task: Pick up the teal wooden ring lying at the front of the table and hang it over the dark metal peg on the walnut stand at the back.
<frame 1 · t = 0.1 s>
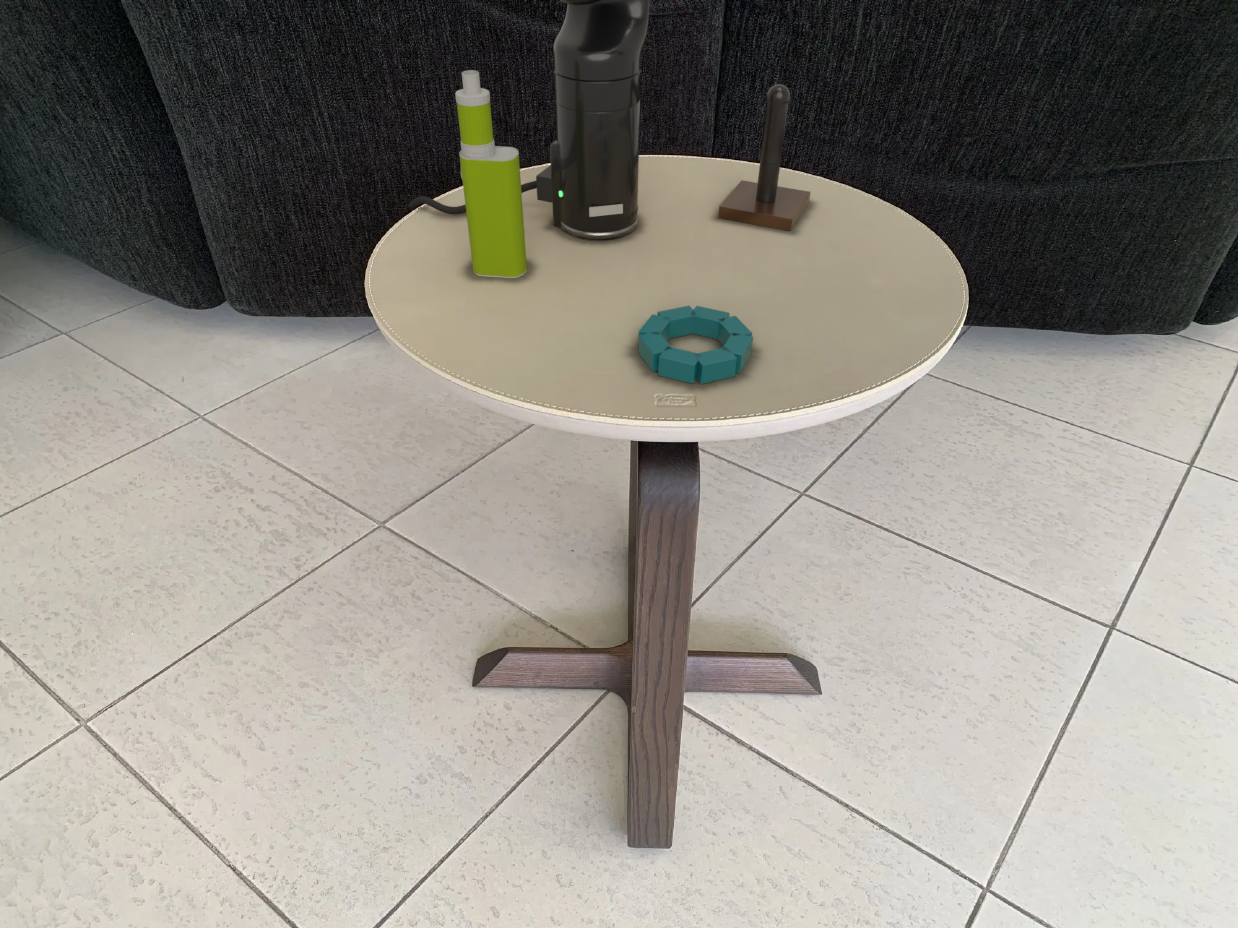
vape: (499, 270, 91), on the table
peg stand: (764, 210, 103), on the table
ring: (694, 352, 78), on the table
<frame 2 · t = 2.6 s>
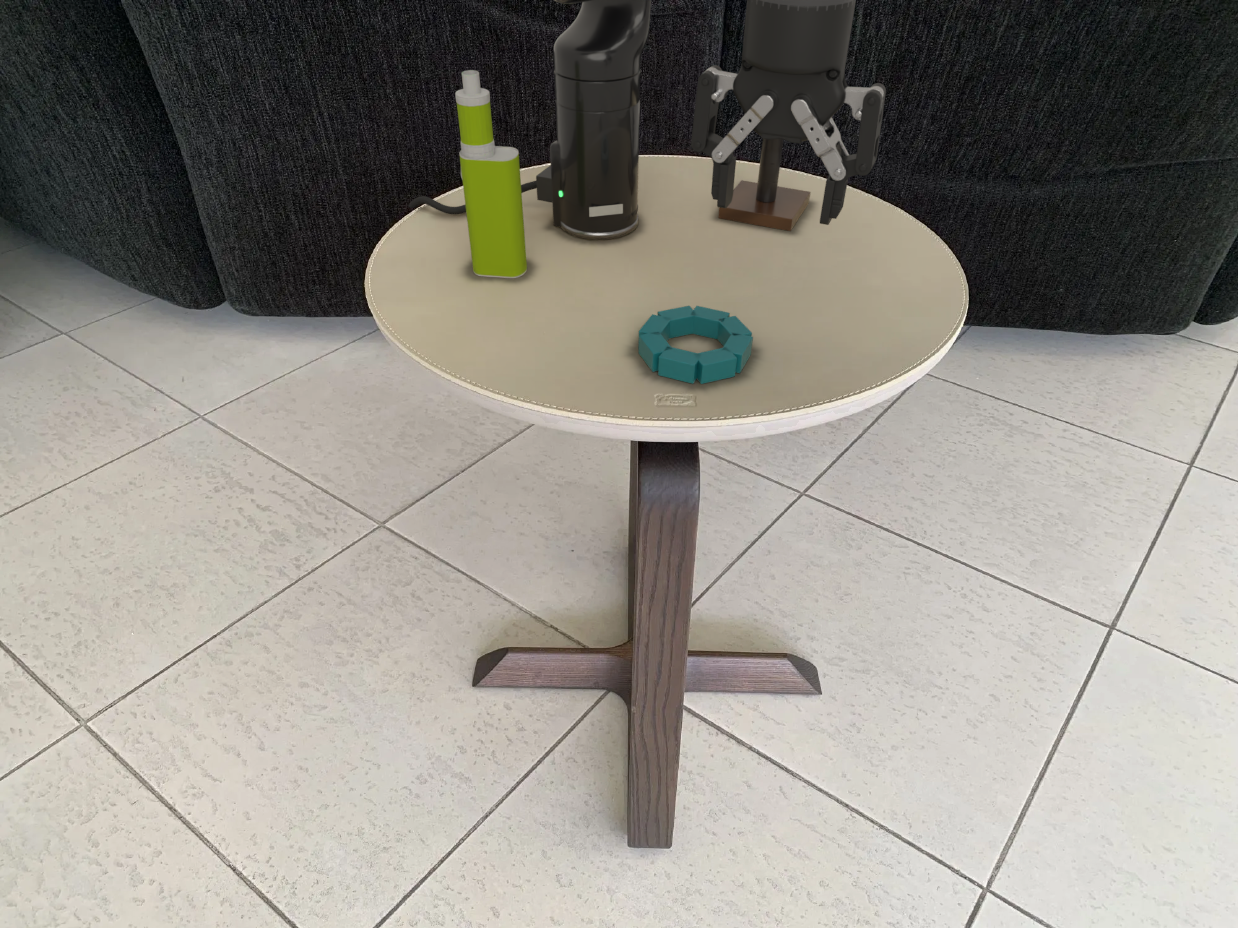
hand: (774, 212, 68), 14 cm above the table, tool pointing down, fingers open, 8 cm apart
nothing on the table moved.
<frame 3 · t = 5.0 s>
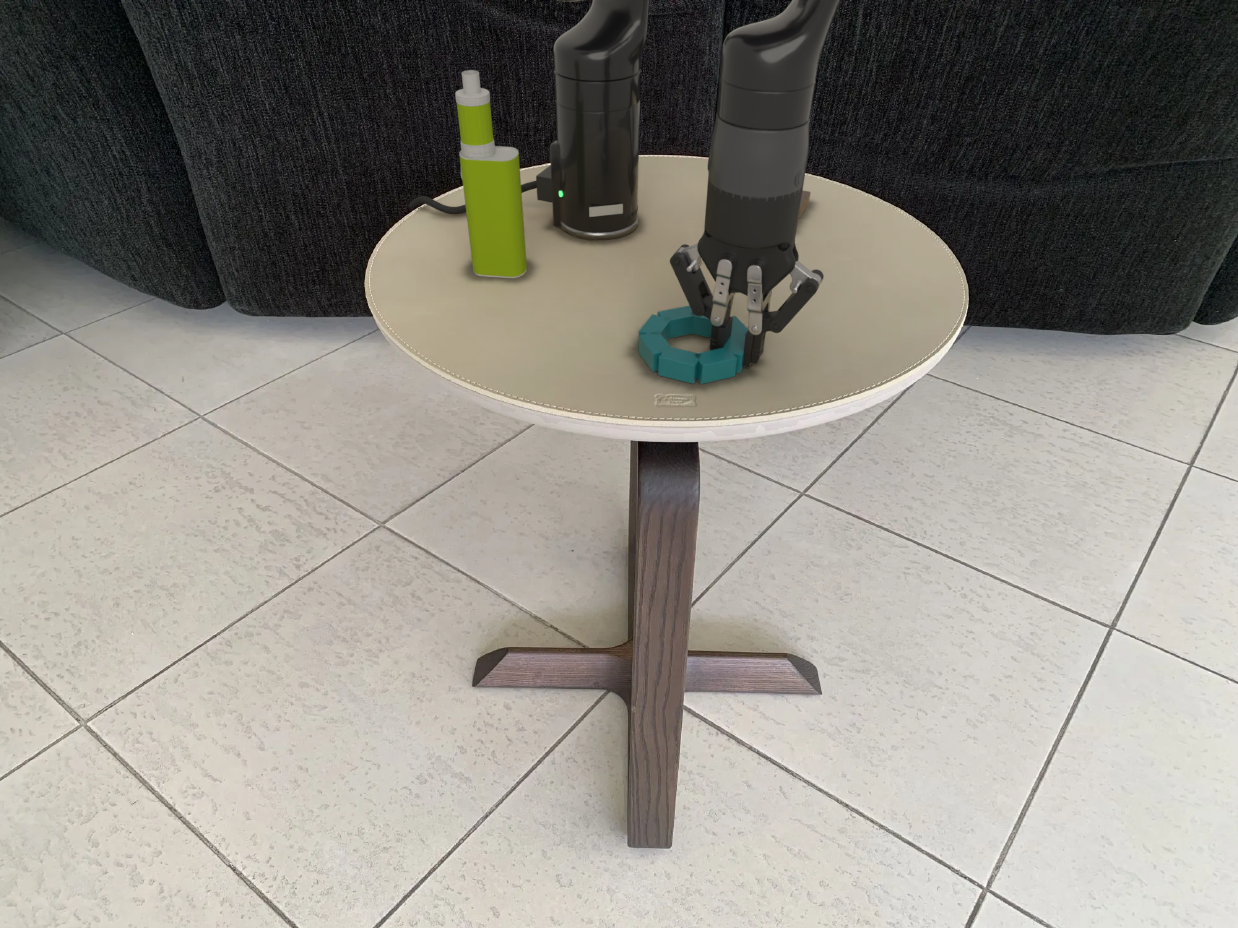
hand: (735, 359, 77), 0 cm above the table, tool pointing down, fingers closed on ring, 2 cm apart
ring: (694, 352, 78), on the table, touching gripper
everything else where it was.
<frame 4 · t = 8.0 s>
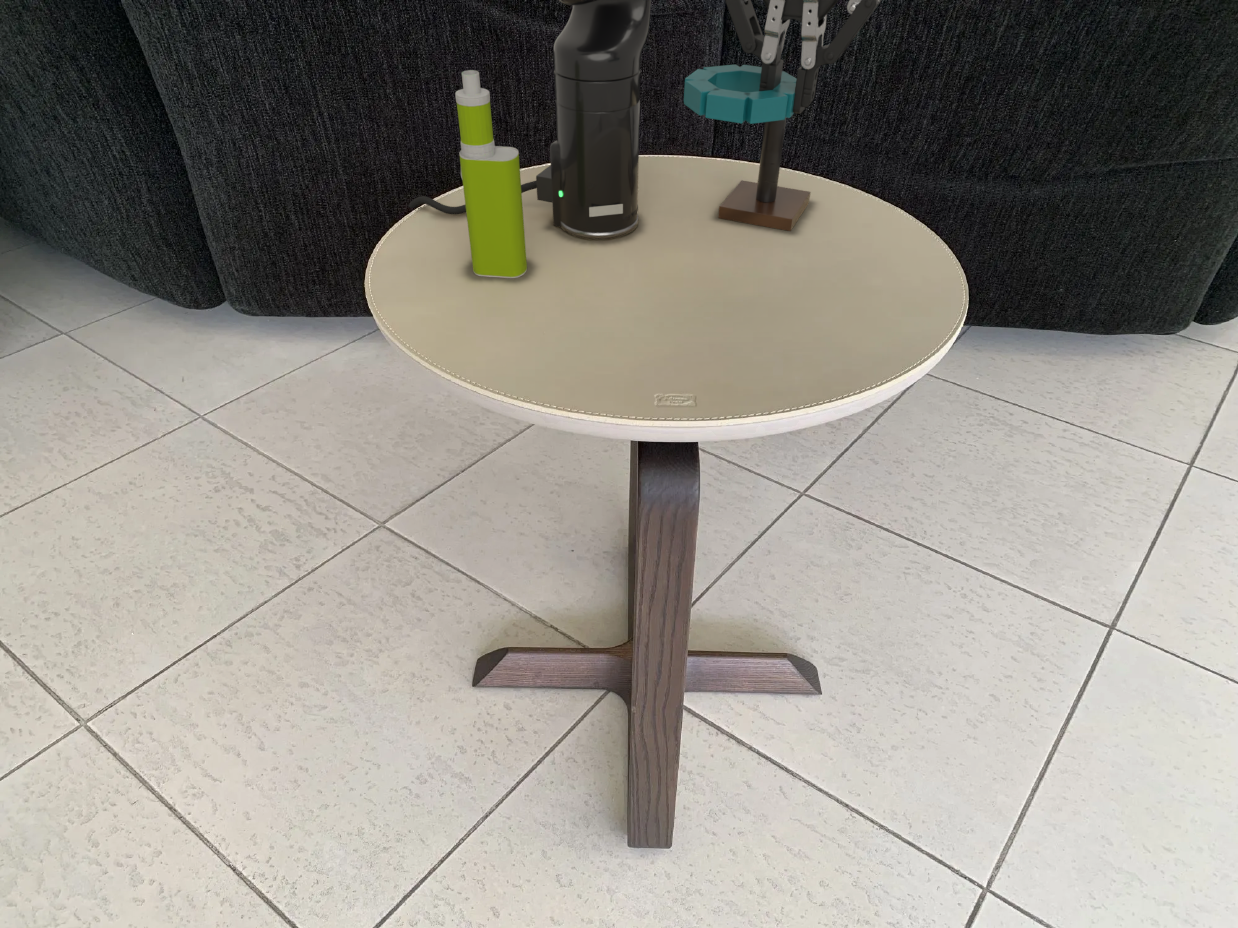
hand: (784, 108, 74), 19 cm above the table, tool pointing down, fingers closed on ring
ring: (741, 104, 76), point 19 cm above the table, touching gripper
everything else where it was.
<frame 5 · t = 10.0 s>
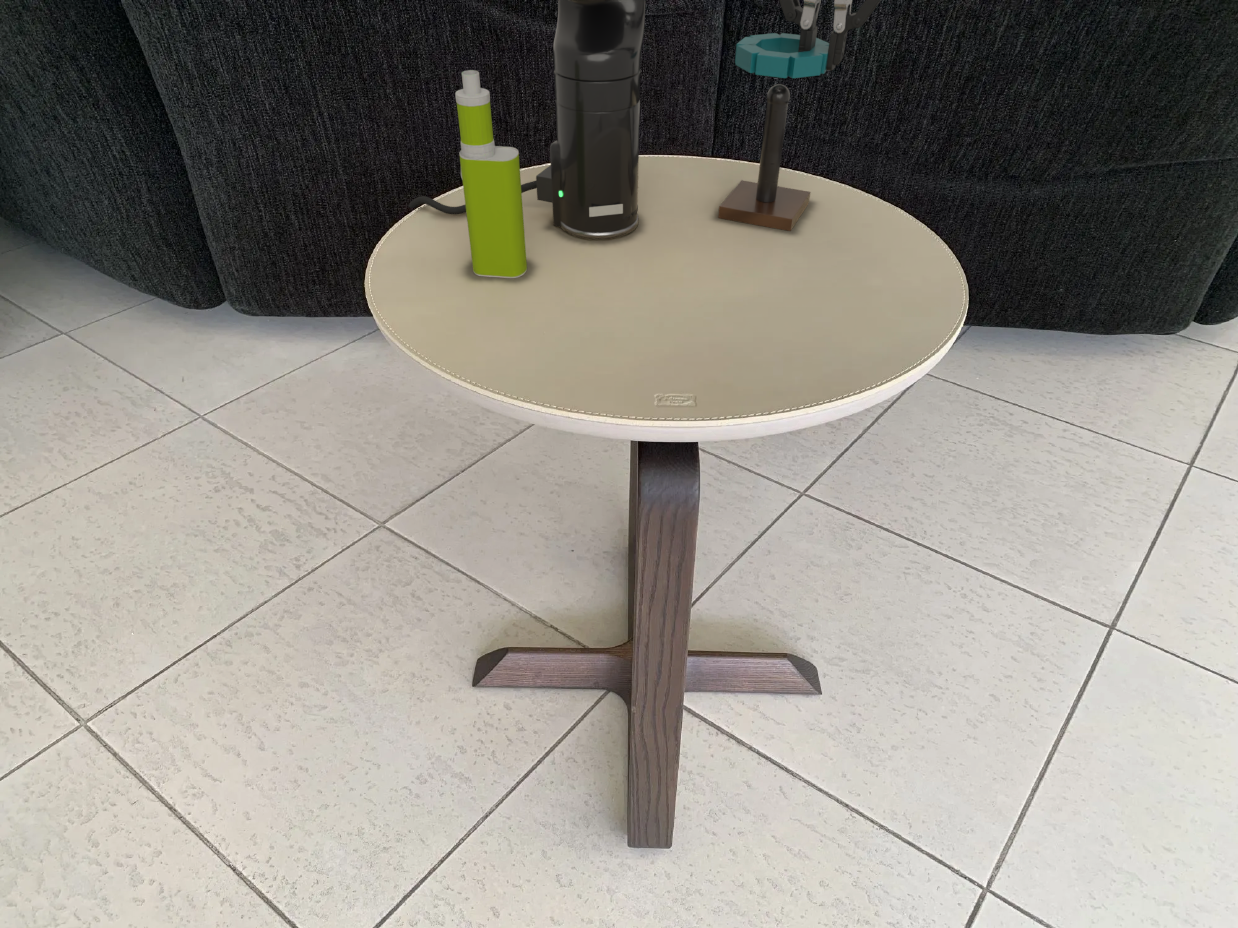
hand: (818, 66, 91), 17 cm above the table, tool pointing down, fingers closed on ring
ring: (782, 64, 92), point 17 cm above the table, touching gripper
everything else where it was.
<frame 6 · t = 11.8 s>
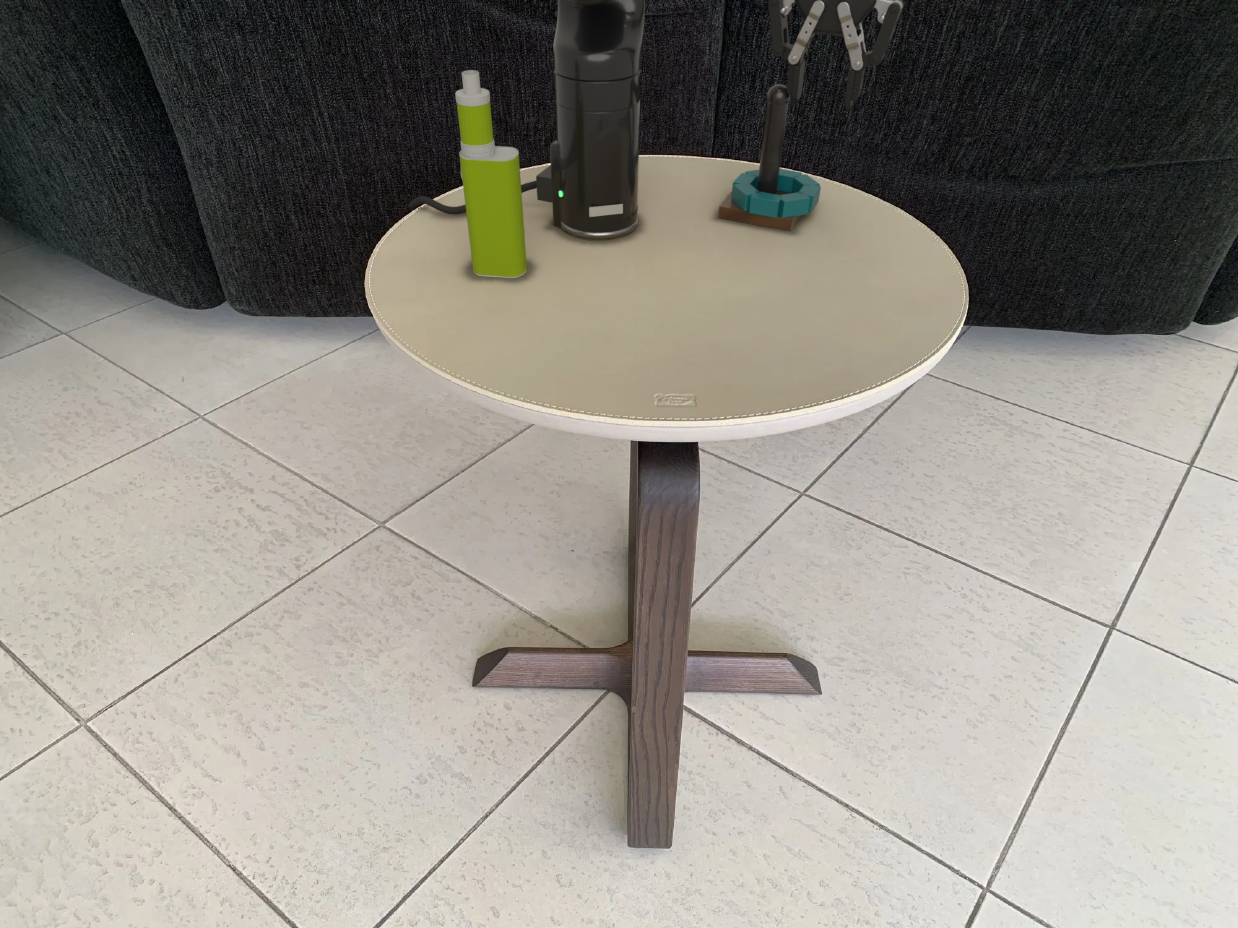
hand: (821, 100, 93), 14 cm above the table, tool pointing down, fingers open, 5 cm apart
ring: (774, 200, 102), point 1 cm above the table, touching peg stand
everything else where it was.
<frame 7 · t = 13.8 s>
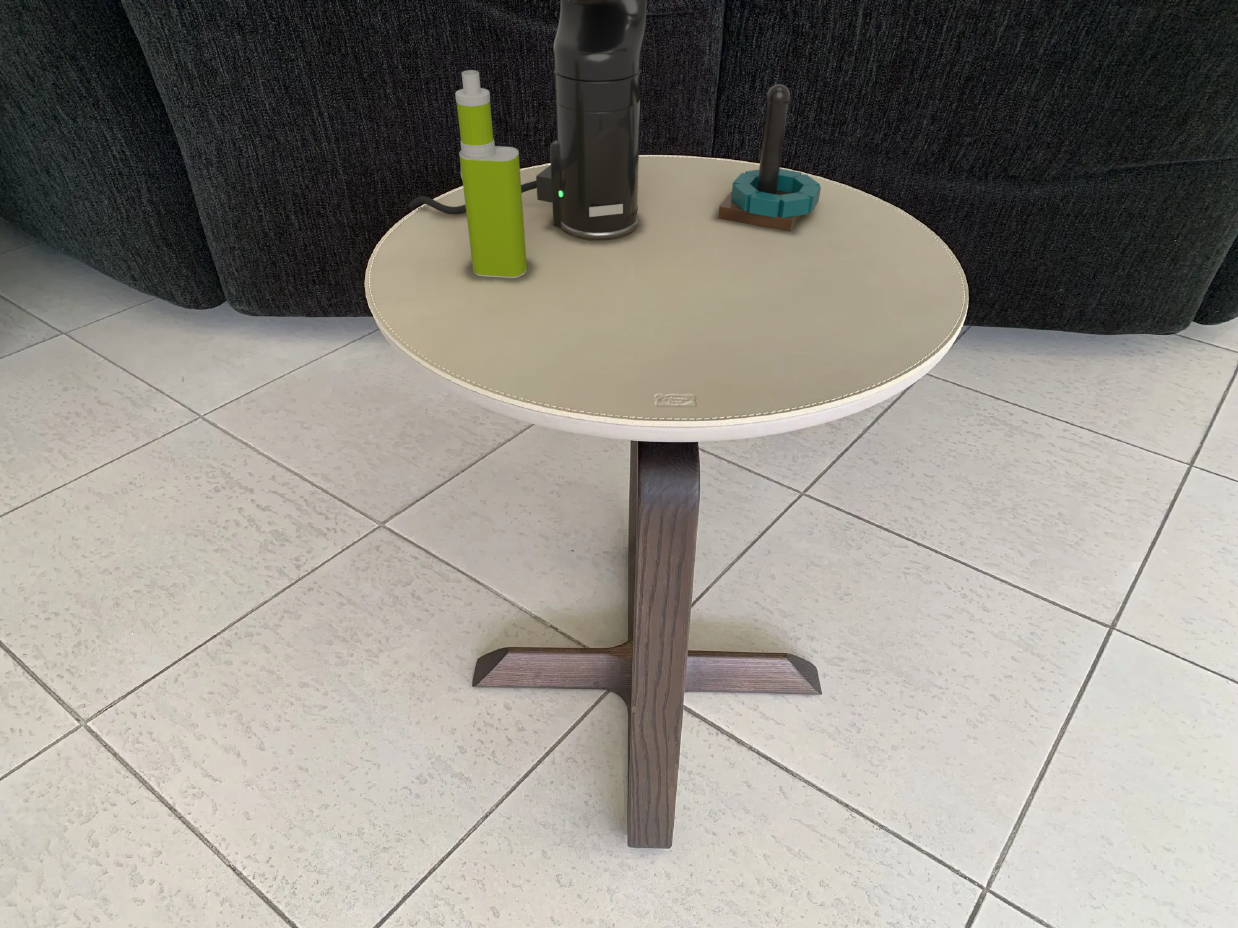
nothing on the table moved.
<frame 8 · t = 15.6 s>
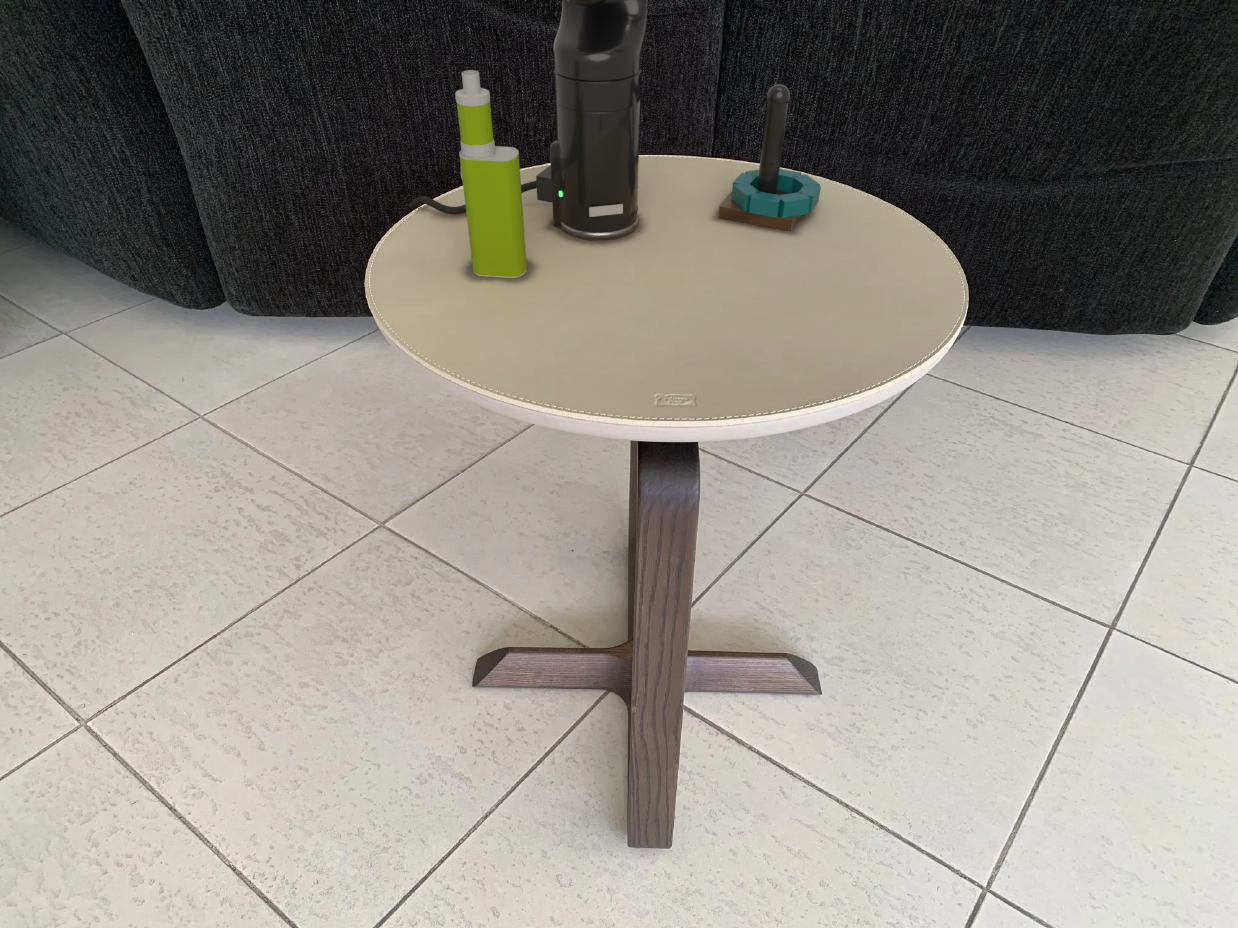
nothing on the table moved.
at the end: ring 1.1 cm off-centre on the peg stand, point 1.5 cm above the peg stand's base; the gripper is holding nothing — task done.
